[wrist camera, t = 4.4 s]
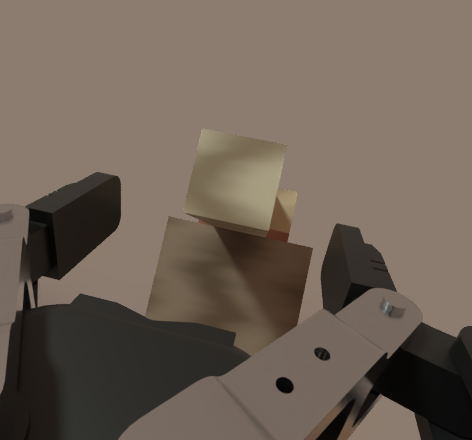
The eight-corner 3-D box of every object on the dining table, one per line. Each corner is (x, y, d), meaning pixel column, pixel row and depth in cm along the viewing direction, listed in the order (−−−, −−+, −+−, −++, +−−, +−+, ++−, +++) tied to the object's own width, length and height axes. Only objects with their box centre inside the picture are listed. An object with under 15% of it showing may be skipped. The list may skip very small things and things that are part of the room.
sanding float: (143, 203, 14) (165, 112, 14) (214, 230, 35) (222, 193, 35) (310, 240, 13) (330, 143, 13) (280, 244, 34) (288, 206, 34)
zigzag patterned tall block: (51, 712, 21) (168, 216, 23) (127, 543, 33) (200, 227, 35) (207, 771, 20) (315, 248, 22) (227, 574, 32) (295, 248, 34)
